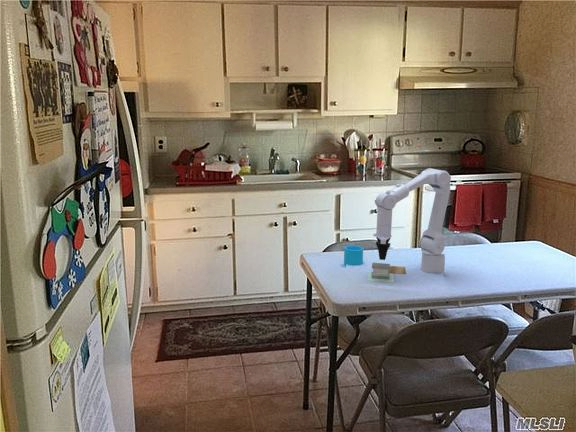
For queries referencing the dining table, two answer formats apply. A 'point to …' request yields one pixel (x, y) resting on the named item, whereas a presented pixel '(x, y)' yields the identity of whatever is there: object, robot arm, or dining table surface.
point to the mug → (353, 255)
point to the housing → (380, 270)
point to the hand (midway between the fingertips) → (382, 256)
